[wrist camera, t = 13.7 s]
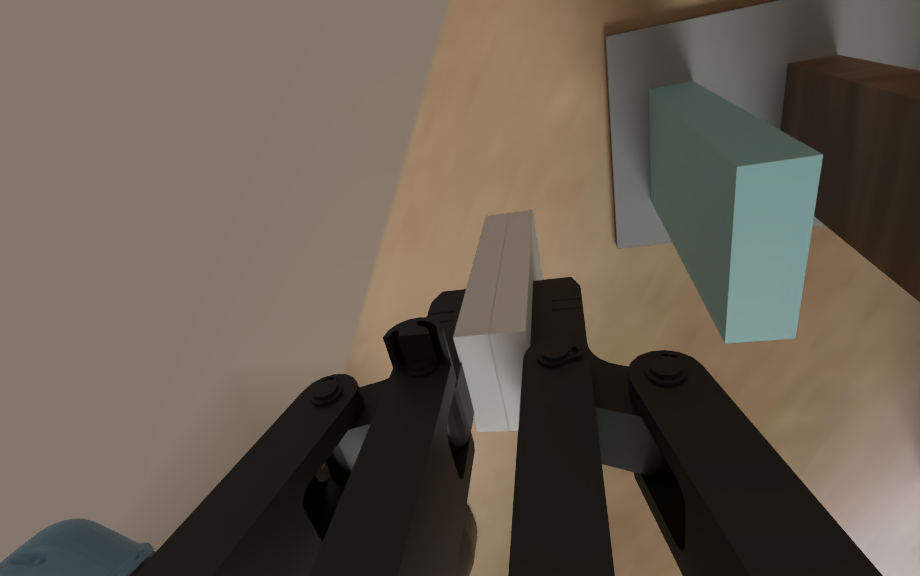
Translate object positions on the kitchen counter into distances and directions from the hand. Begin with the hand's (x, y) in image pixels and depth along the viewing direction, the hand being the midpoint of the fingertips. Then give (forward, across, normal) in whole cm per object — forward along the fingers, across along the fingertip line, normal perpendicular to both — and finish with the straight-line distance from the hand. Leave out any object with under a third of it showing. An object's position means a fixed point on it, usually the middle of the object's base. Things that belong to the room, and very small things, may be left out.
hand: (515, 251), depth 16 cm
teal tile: (+9, +7, 0) cm, 12 cm away
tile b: (+9, +12, 0) cm, 15 cm away
